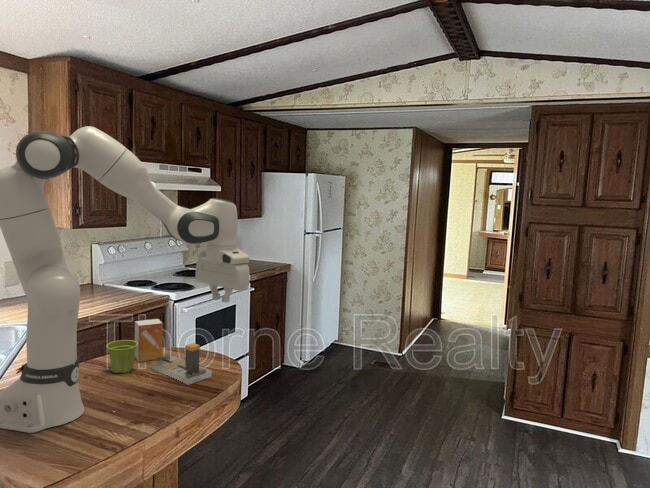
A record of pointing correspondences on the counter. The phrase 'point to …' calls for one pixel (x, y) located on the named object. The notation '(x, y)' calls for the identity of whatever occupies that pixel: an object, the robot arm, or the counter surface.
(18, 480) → the counter surface
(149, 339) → the small box
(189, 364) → the fader knob
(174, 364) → the fader console
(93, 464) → the counter surface
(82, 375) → the counter surface
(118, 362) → the plant pot
